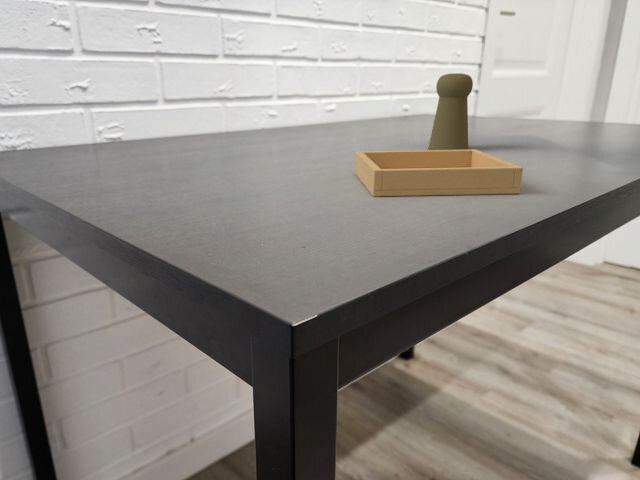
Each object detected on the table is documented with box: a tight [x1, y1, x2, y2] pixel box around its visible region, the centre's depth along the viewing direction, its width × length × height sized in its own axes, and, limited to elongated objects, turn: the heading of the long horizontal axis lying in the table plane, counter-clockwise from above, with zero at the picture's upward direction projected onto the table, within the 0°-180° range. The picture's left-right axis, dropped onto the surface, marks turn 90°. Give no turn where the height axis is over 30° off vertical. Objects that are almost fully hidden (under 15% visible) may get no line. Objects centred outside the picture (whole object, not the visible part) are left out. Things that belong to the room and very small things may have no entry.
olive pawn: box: [427, 72, 474, 150], centre depth 78 cm, size 6×6×11 cm
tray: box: [354, 148, 524, 197], centre depth 56 cm, size 15×13×3 cm
